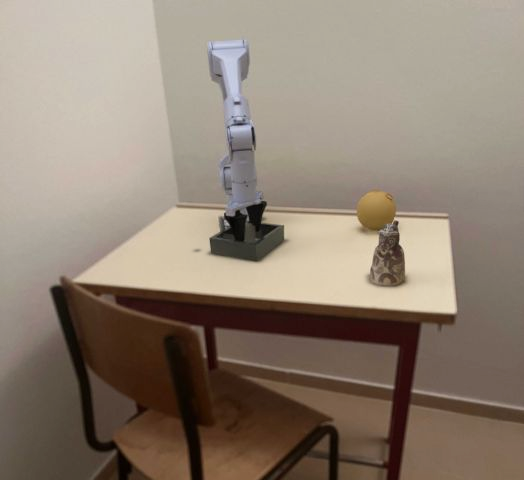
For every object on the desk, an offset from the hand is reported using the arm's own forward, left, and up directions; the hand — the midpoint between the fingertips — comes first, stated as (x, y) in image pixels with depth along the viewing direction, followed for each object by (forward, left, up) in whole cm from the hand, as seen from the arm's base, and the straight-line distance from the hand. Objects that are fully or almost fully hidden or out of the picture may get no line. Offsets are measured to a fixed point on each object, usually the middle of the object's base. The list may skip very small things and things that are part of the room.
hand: (247, 236), depth 127 cm
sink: (0, 0, -3) cm, 3 cm away
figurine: (+5, +37, -3) cm, 37 cm away
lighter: (0, 0, -3) cm, 3 cm away
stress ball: (-23, +25, -3) cm, 34 cm away
